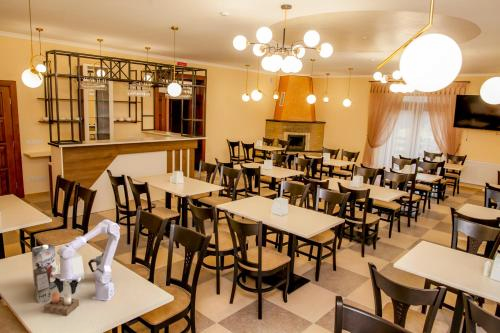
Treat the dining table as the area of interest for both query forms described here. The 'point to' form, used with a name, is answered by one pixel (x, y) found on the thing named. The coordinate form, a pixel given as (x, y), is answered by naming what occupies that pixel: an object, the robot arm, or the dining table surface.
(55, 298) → the rust plug
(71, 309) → the socket board
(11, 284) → the dining table surface
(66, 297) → the cream plug
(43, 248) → the juice carton
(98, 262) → the coffeepot
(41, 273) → the coffee box
